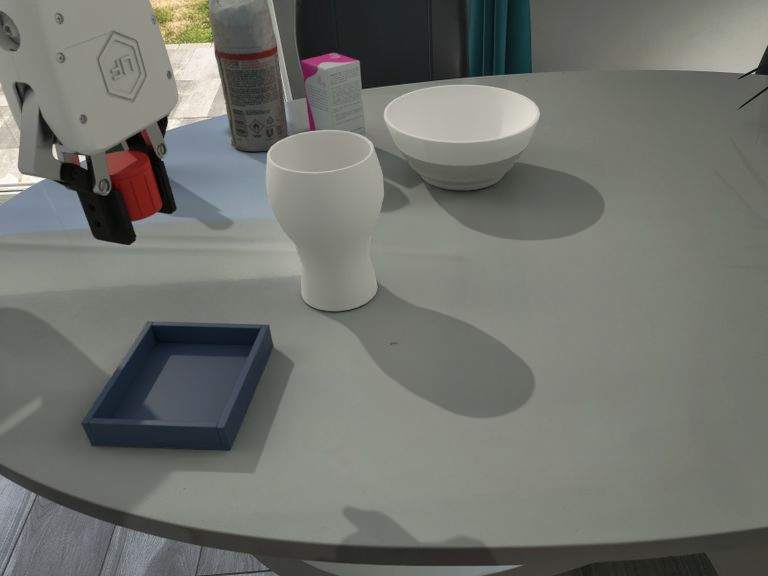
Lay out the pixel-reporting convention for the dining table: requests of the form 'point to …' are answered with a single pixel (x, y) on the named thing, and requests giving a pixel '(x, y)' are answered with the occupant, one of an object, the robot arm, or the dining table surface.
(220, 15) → the spray can
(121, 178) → the cap
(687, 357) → the dining table surface
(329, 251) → the cup
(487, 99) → the bowl
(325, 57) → the supplement box
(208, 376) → the tray
